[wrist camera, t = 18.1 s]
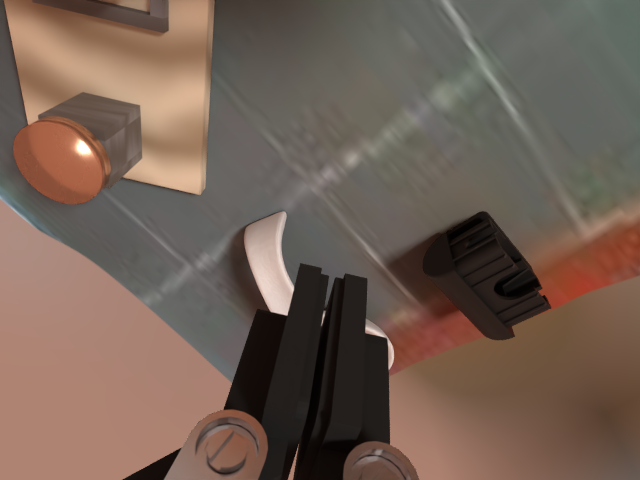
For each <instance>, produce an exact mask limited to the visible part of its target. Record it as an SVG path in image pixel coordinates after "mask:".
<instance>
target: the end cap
mask: <svg viewBox="0 0 640 480" xmlns="http://www.w3.org/2000/svg"><path fill="white" fill-rule="evenodd" d="M423 270H424V272H425V274H426V275H427V276H428V277H429V278H430V279H431V280H432V281H433V282H434V284H435V285H436V286H437V287H438V288H439V289H440V290H441V291H442V292H443V293H444V294H445V295H446V296H447V297H448V298H449V299H450V300H451V301H452V302H453V304H454V305H455V306H456V307H457V308H458V309H459V310H460V311H461V312H462V313H463V314H464V315H465V316H466V317H467V318H468V319H469V320H470V321H471V322H472V323H473V325H474V326H475V327H476V328H477V329H478V330H479V331H480V332H481V333H482V334H483V335H484V336H486V337H488V338H490V339H493V340H506V339H510V338H513V337H515V335H514V332H513V329H512V326H514V325H516V324H518V323H520V322H522V321H524V320H527V319H529V318H531V317H533V316H535V315H538V314H540V313H542V312H544V311H546V310H548V309H551V306H550V304H549V302H548V299H547V298H546V296H545V295H544V296H541V295H540V293H539V292H538V291H539V290H541V289H542V286H541V284H540V282H539V280H538V278H537V277H536V275H535V274H534V272H533V270H532V267H531V266H530V264H529V263H528V262H527V261H526V259H525V258H524V257H523V256H522V255H521V253H520V252H519V251H518V250H517V248H516V247H515V246H514V245H513V243H512V242H511V241H510V240H509V238H508V237H507V236H506V235H505V233H504V232H503V231H502V230H501V229H500V227H499V226H498V225H497V224H496V222H495V221H494V220H493V219H492V217H491V216H490V215H489V214H488V213H487V212H484V211H482V212H479V213H477V214H476V215H474V216H472V217H471V218H469V219H468V220H466V221H464V222H463V223H461V224H459V225H458V226H456V227H454V228H453V229H451V230H449V231H448V232H447V233H445V234H443V235H442V236H440V237H439V238H438V239H437V240H436V241H435V242H434V243H433V244H432V245H431V246H430V248H429V249H428V251H427V252H426V254H425V256H424V260H423Z"/></svg>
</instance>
